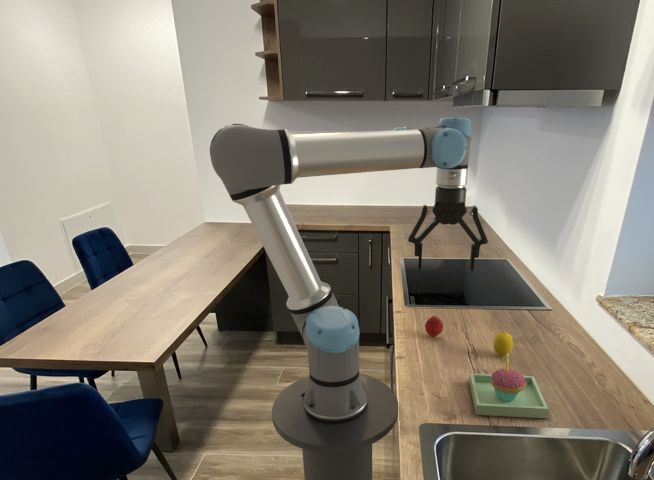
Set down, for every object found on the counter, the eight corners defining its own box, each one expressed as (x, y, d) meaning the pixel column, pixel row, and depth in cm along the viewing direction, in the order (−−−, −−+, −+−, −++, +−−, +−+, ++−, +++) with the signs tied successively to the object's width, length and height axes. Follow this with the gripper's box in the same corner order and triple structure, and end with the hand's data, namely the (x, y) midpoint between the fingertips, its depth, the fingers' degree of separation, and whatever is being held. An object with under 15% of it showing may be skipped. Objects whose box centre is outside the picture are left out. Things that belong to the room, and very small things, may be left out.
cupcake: (482, 390, 115) (487, 349, 110) (509, 384, 117) (515, 344, 112) (501, 409, 107) (508, 366, 102) (530, 402, 110) (538, 360, 105)
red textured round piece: (443, 340, 142) (445, 318, 139) (425, 341, 142) (427, 318, 139) (440, 332, 148) (442, 310, 144) (423, 333, 147) (424, 311, 144)
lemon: (493, 359, 131) (496, 335, 128) (491, 351, 136) (494, 327, 133) (512, 360, 130) (516, 336, 127) (509, 352, 135) (512, 328, 132)
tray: (475, 414, 106) (476, 405, 105) (469, 382, 120) (470, 373, 119) (546, 418, 105) (548, 408, 104) (532, 385, 118) (533, 376, 117)
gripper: (399, 187, 107) (397, 271, 115) (505, 188, 105) (495, 274, 113) (400, 183, 114) (398, 263, 122) (500, 184, 112) (491, 265, 120)
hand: (445, 268), depth 118 cm, fingers open, 13 cm apart
